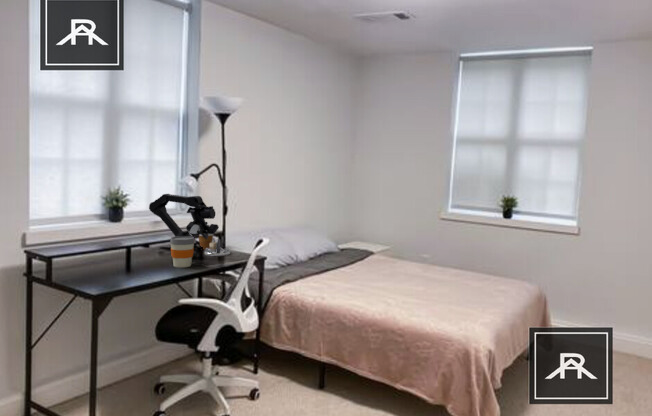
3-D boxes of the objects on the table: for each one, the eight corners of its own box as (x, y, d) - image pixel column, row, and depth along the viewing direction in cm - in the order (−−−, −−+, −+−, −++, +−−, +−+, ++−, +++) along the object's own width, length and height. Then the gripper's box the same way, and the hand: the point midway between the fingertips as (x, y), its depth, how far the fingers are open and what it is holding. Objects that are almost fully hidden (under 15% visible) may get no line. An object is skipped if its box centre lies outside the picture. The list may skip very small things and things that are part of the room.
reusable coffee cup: (164, 266, 280) (164, 238, 278) (181, 262, 291) (181, 235, 289) (182, 269, 274) (183, 240, 272) (199, 265, 285) (199, 237, 283)
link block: (213, 250, 311) (213, 243, 311) (209, 249, 314) (209, 242, 314) (219, 249, 314) (219, 243, 314) (215, 248, 317) (215, 242, 316)
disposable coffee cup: (194, 251, 324) (194, 231, 323) (204, 248, 333) (204, 229, 332) (207, 252, 320) (207, 233, 319) (216, 250, 329) (216, 231, 328)
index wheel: (214, 257, 301) (214, 240, 300) (199, 253, 311) (199, 237, 310) (234, 254, 312) (235, 238, 311) (220, 250, 322) (220, 235, 321)
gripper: (176, 225, 291) (186, 246, 301) (204, 228, 284) (213, 250, 293) (187, 212, 299) (196, 233, 309) (214, 215, 292) (223, 237, 301)
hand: (206, 238), depth 303 cm, fingers closed
